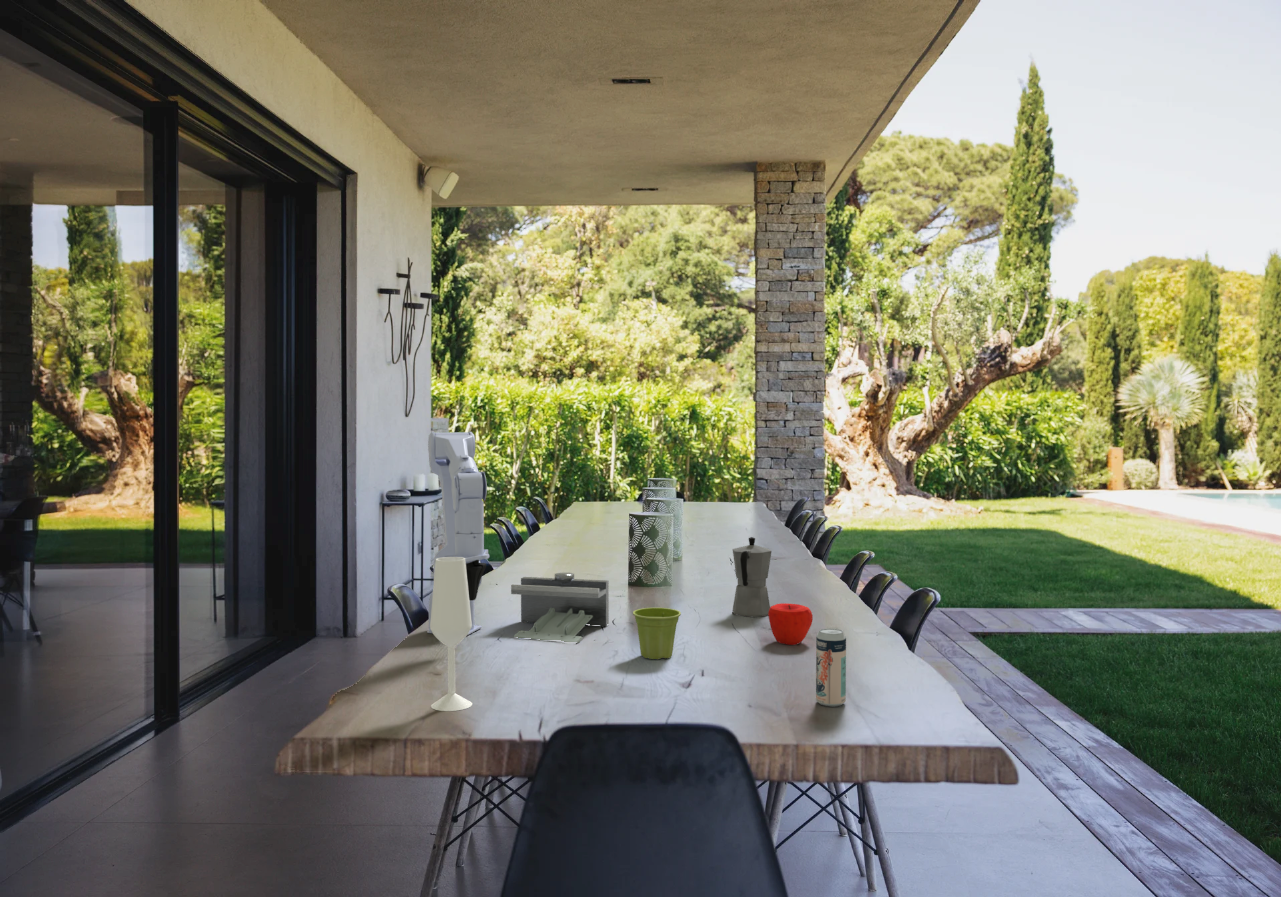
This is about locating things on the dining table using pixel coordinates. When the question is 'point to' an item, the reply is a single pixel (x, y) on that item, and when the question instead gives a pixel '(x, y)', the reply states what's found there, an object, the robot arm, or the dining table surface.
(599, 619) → the stand
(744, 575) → the coffeepot
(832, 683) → the beer can
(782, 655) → the dining table surface
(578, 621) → the metal bracket
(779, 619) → the apple
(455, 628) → the champagne flute
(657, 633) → the plant pot
